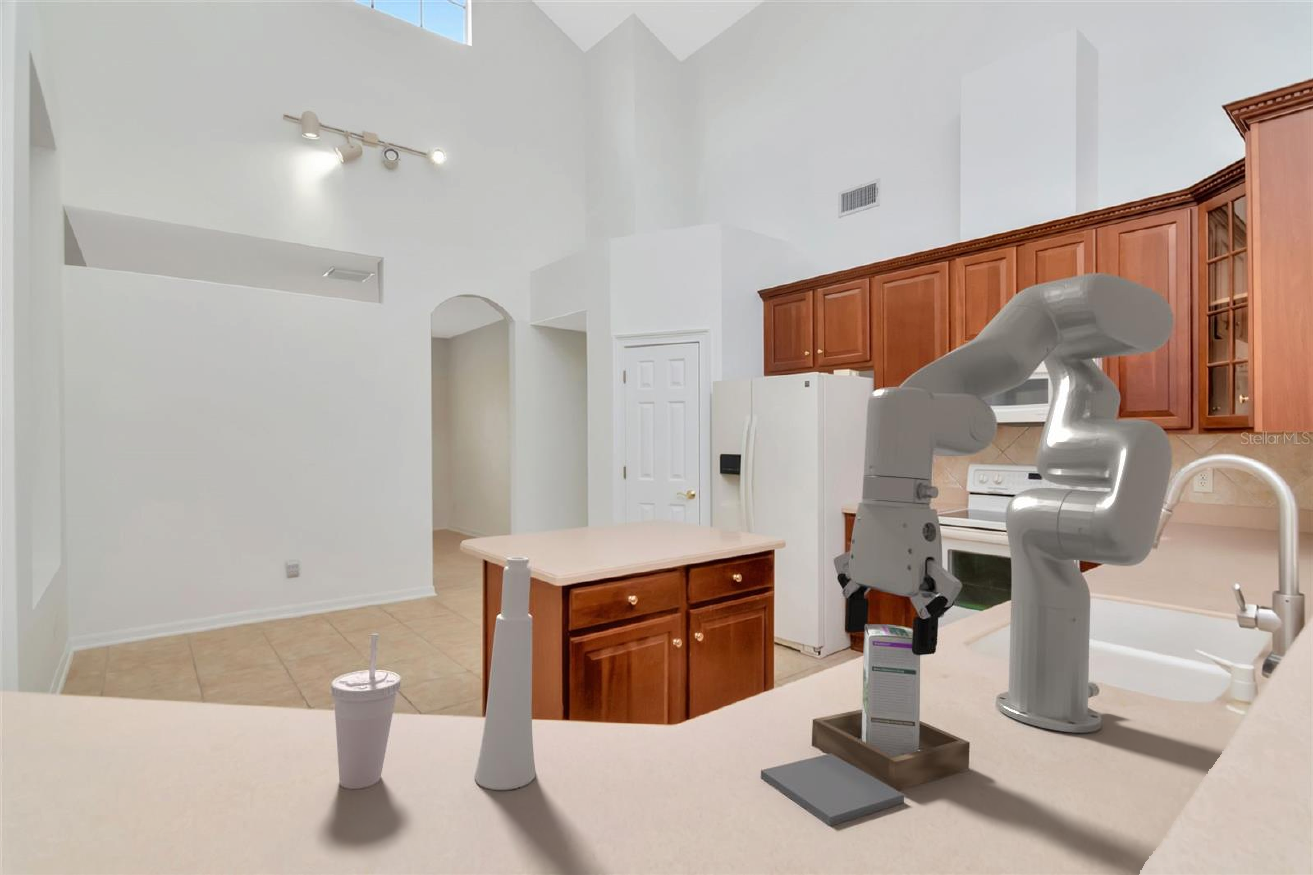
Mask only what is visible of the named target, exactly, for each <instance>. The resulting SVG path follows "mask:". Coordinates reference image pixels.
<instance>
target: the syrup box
mask: <svg viewBox="0 0 1313 875" xmlns="http://www.w3.org/2000/svg"><path fill="white" fill-rule="evenodd" d="M863 633H864V634H863V661H862V663H863V667H862V700H861V701H862V702H861V703H862V737H861V741H863V742H865V743H867V744H869V745H871V746H873V747H875V748H877V749H879V750H881V751H883V752H885V753H887V754H889V755H891V756H893V757H898V756H902V755H906V754H910V753H913V752H917V751H920V750H919V723H920V721H921V720H920V717H921V716H920V714H921V713H920V709H921V708H920V707H921V705H920V704H921V701H920V700H921V696H920V695H921V655H916V654H913V652H912V636H913V628H912V627H909V626H908V627H906V626H900V625H895V624H884V623H883V624H882V623H881V624H880V623H879V624H878V623H877V624H871V623H870V624H869V623H868V624H865V627H864V632H863Z"/></svg>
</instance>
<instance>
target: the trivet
mask: <svg viewBox="0 0 1313 875" xmlns="http://www.w3.org/2000/svg"><path fill="white" fill-rule="evenodd" d="M760 779H762V780H763V781H764V782H766V783H768V784H769V785H770V786H772V787H773V788H775V790H777V791H778V792H780V793H782V794H783V795H784V796H786V797H787V798H789V799H791V801H793V802H794V803H796V804H798V805H799V806H800V807H802V808H803V809H805V810H806V811H808V812H809V813H811V814H812V815H813V816H815V817H816V818H818V819H820V820H821V821H822V822H823V823H825V824H827V825H828V826H829V827H830V826H835V825H837V824H841V823H844V822H846V821H850V820H853V819H856V818H859V817H863V816H867V815H869V814H872V813H875V812H878V811H882V810H885V809H889V808H892V807H895V806H898V805H901V804H905V794H904V793H903V792H902V791H901V792H900V790H899V791H897V790H895V789H894V788H892V787H890V786H888V785H886V784H885V783H883V782H881V781H879V780H877V779H876V778H874V777H872V776H870V775H869V774H867V773H865V772H863V771H861V770H860V769H858V768H856V767H854V766H853V765H851V764H849V763H847V762H845V761H844V760H842V759H840V758H838V757H836V756H835V755H833V754H827V753H825V754H823V755H819V756H814V757H811V758H807V759H801V760H798V761H794V762H789V763H786V764H781V765H777V766H772V767H768V768H765V769H761V770H760Z"/></svg>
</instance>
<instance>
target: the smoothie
mask: <svg viewBox="0 0 1313 875" xmlns="http://www.w3.org/2000/svg"><path fill="white" fill-rule="evenodd" d="M378 635H379V634H378V633H372V634H371V641H370V655H369V656H370V658H369V670H367V669H365V670H358V671H353V672H348V673H345V674H341V675H339V676H337V677H336V678H335V679H333V680H332V681H331V688H330V693H329V694H330V696H331V697H332V698H333V702H334V714H335V715H334V716H335V732H336V733H335V734H336V750H337V763H338V765H337V766H338V775H339V776H338V779H339V780H338V782H339V785H340V786H341V787H343V788H345V789H349V790H358V789H363V788H368V787H371V786H374V785H375V784H377V783H378V782H379V781H380V780H381V779H382V778H381V776H382V773H383V772H382V771H383V767H384V762H385V758H386V753H387V746H388V740H389V735H390V731H391V730H390V729H391V724H392V718H393V714H394V710H395V704H396V700H397V699H396V698H397V693H398V692H399V691H400V690H401V688H402V684H401V680H402V677H401V675H400V674H398V673H396V672H394V671H389V670H383V669H382V670H381V669H376V666H377V651H378Z"/></svg>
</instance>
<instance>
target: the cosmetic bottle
mask: <svg viewBox="0 0 1313 875" xmlns="http://www.w3.org/2000/svg"><path fill="white" fill-rule="evenodd" d="M529 561H530V559H529V557H526V556H509V557H506V564H507V566H505V567H504V568H503V572H502V585H501V586H502V587H501V590H502V591H501V607H500V614H498V615H496V620H495V627H494V634H493V642H492V651H491V652H492V653H491V654H492V655H491V662H490V672H489V683H488V691H487V700H486V701H487V702H486V709H485V710H486V711H485V718H484V726H483V731H482V732H483V733H482V738H481V744H480V750H479V755H478V759H477V763H476V766H475V772H474V780H475V782H476V783H477V784H478V785H479V786H480V787H483V788H485V789H488V790H493V791H510V790H515V788H516V789H519V788H518V787H520V788H522V787H524V786H526V785H528V784H530V783H532V781H533V780H535V777H536V772H537V771H536V765H535V755H534V754H535V753H534V742H533V740H534V739H533V716H532V715H533V708H532V706H533V703H532V700H533V698H532V696H533V616H532V615H531V614H530V613H529V612H530V611H529V610H530V609H529V608H530V590H531V576H532V575H531V574H532V571H531V568H530V567H529V566H528V564H529Z"/></svg>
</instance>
